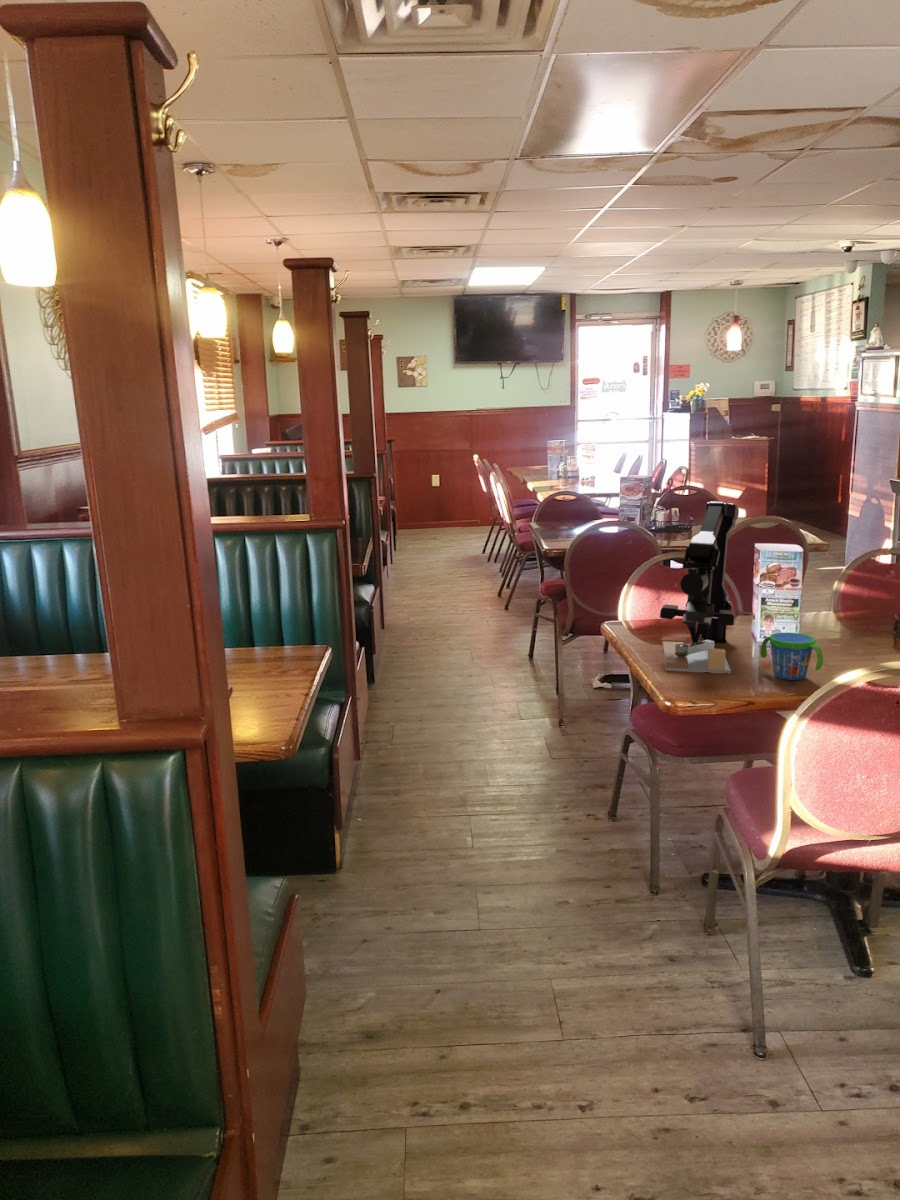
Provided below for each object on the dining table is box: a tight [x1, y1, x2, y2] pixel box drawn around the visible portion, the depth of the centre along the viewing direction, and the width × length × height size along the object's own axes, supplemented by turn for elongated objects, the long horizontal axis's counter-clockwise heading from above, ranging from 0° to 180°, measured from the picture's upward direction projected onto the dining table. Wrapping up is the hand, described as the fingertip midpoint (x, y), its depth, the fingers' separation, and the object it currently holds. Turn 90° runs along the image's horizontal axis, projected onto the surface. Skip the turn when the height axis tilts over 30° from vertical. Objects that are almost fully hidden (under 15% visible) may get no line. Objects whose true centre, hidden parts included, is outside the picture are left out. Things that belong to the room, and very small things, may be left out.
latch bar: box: [675, 639, 715, 656], centre depth 222 cm, size 13×3×2 cm, turn 124°
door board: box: [661, 641, 732, 675], centre depth 225 cm, size 16×20×6 cm
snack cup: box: [759, 632, 824, 681], centre depth 210 cm, size 16×10×10 cm
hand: (694, 646), depth 226 cm, fingers closed
